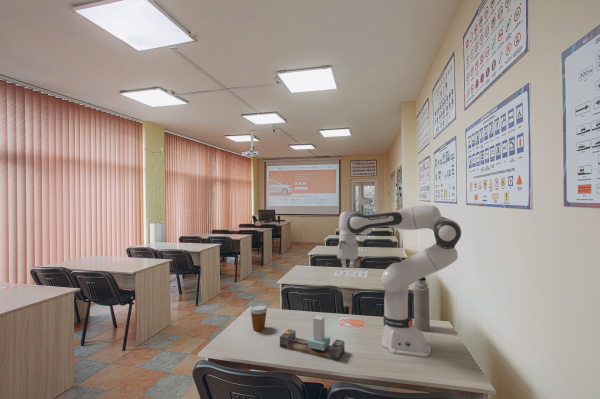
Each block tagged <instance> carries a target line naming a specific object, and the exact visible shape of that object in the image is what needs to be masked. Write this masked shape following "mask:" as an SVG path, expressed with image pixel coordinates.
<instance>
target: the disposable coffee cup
mask: <svg viewBox="0 0 600 399" xmlns="http://www.w3.org/2000/svg"><path fill="white" fill-rule="evenodd" d="M249 312H250V316H251V323H252V329H253V331H255V332H262V331H264V330H265V327H266V326H265V325H266V320H267V319H266V317H267V312H268V308H267V305H265V304H255V305H252V306H251V307H250V310H249Z"/></svg>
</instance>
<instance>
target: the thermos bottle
mask: <svg viewBox="0 0 600 399" xmlns="http://www.w3.org/2000/svg"><path fill="white" fill-rule="evenodd" d="M426 281H427V279H426V277H423V278H421V279H419V280H418V281H416V282H414V286H413V289H412V290H413V326H415V327H416V328H417V329H418V330H419V331H421V332H429V331H430V329H431V328H430V289H429V286H428V283H427V282H426Z"/></svg>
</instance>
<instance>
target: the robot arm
mask: <svg viewBox="0 0 600 399" xmlns="http://www.w3.org/2000/svg"><path fill="white" fill-rule="evenodd" d="M338 218H339V220H338V229H339V235H338V244H337V246H336V247H337V248H336V258H337V259H339V260H340V263H341V268H342V269H347V265H348V264H346V261H347V260H349V268H350V269H351V268H352V269H354V264H355V260H357V259H358V257H359V247H358V246H359V245H360V244H359V241H358V240H357V235H362V236H364V235H365V236H366V235H369V234H371V233H372V232H373V230H374V228H375V229H376V228H383V227H390V228H396V229H399V230H403V231H404V230H405V231H406V230H407V231H412V230H414V231H416V230H422V229H429V230H432V231H433V236H434V239H435V243H434V244H433V245H431V246H429V247H427V248H424V249H422V250H420V251H418V252H416V253H414V254H412V255H410V256H408V257H407V258H405V259H403V260H401V261H399V262H393V263H391V264H389V265H388V266H387V267H386V268H385V269H384V271H383V272H382V274H381V276H380V277H381V278H380V279H381V280H380V281H381V285H382V287H383V288H384V289H385V293H384V299H383V301H384V304H383V305H384V306H383V309H384V310H383V311H384V313H383V317H382V318H383V320H382V321H383V326H384V327H383V334H382V339H381V345H382V347H384V348H386V349H387V350H389V352H390V353H391V354H395V355H396V354H397V355H398V354H399V355H406V356H413V357H422V358H426V357H429V356H430V354H431V351H432V349H431V345H430V344H429V343H428V342H427V341H426V338H425V336H424V333H423V331H419V330H418V329H417V328H416V327H415V326H414V320H413V317H412V316H411V317H410V316H409V303H408V302H409V300H408V299H409V286H411V285H413V284H415V283H416V281H418V280H419V279H421V278H423V277H424V278H426V277H428V276H430V275H432V274H434V273H436V272H439V271H441V270H443V269H445V268H447V267H449V266H451V265H452V264H453V263H454V262H456V261H457V259H458V257H459V256H458V250H457V249H456V247H455V246H456V245H457V244H458V242H459V241H460V239H461V237H462V228H461V226H460V224H459V223H458V222H456V221H455V220H453V219H451V218H446V217H444V216H442V214H441V211H440V210H439V208H438V207H437V206H435V205H430V204H429V205H426V204H425V205H414V206H409V207H405V208H401V209H398V210H397V209H396V210H394V211H389V212H385V213H375V214H363V213H360V212H359V213H358V212H355V211H354V210H345V211H342V212H341V213H340V215H339V217H338Z"/></svg>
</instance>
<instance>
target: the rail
mask: <svg viewBox="0 0 600 399" xmlns="http://www.w3.org/2000/svg"><path fill="white" fill-rule="evenodd" d="M296 336H297V334H296V330H293V329H290V328H289V329H287V330H286V331H284V333H282V334H281V335H280V336H279V347H280V348H283V349H286V350H287V349H288V350H292V351H296V352H299V353H303V354H308V355H311V356H315V357H320V358H324V359H328V360H332V361H336V362H339V361H340V360H341V358H342V356H343V355H344V354H345V350H346V349H345V345H346V344H345V340H341V339H337V338H336V339H335V341H333V343H332V344H329V345H328V346H327V348H326V349H325V350H324V351H322V350H318V349H314V348H310V347H308V340H309V339H303V338H300V337H296Z"/></svg>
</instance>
